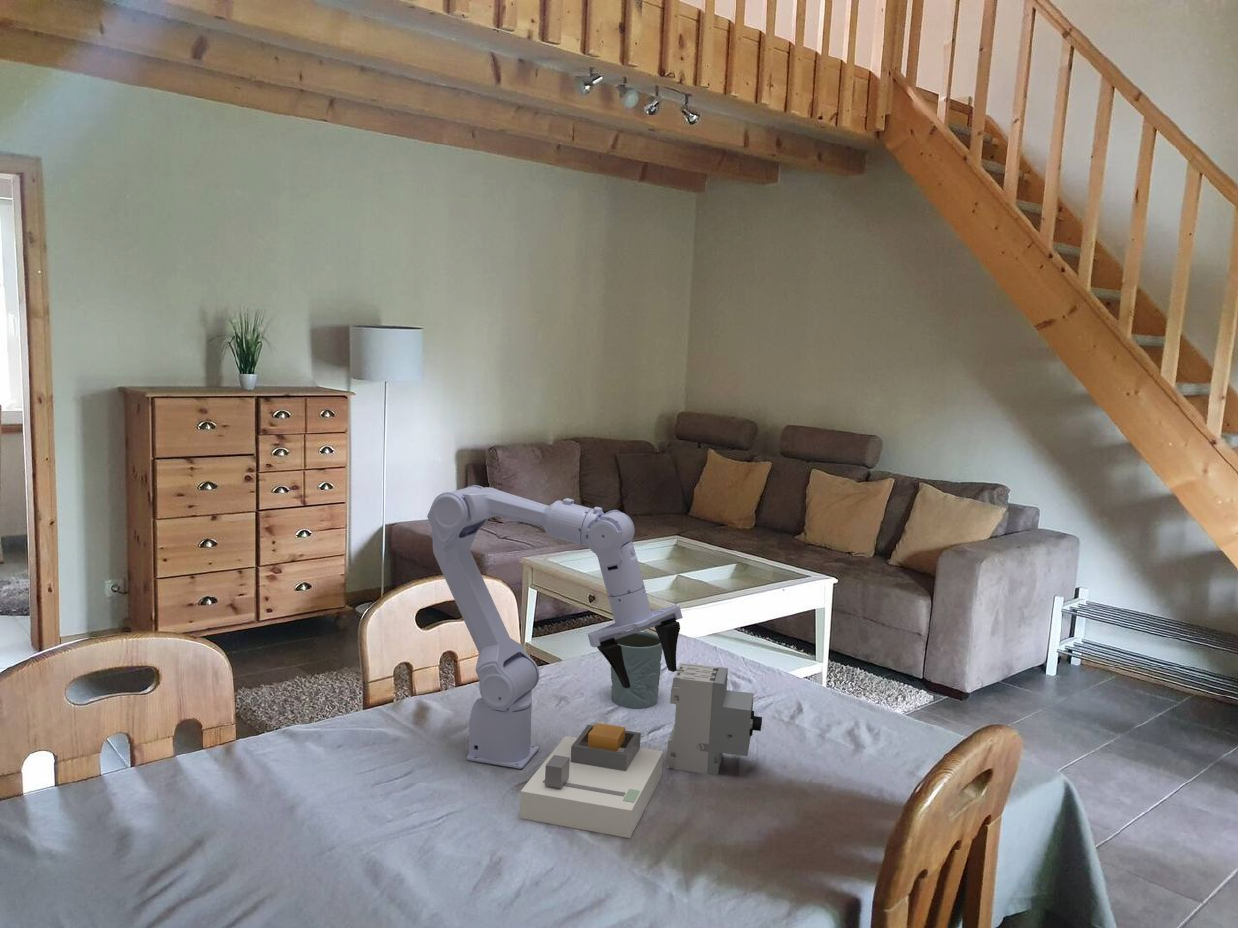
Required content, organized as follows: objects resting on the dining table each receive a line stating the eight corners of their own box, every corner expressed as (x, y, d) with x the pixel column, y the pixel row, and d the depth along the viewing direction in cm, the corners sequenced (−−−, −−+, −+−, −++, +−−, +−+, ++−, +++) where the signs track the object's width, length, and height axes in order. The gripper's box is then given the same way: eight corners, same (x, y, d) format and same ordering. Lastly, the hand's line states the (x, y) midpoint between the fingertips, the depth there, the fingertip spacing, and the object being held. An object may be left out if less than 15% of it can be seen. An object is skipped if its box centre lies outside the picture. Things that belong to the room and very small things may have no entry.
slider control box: (519, 817, 134) (521, 773, 133) (564, 759, 153) (566, 720, 152) (630, 838, 130) (632, 792, 129) (661, 775, 149) (664, 735, 148)
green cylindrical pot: (660, 711, 175) (664, 648, 173) (605, 708, 175) (608, 645, 173) (659, 691, 185) (662, 631, 183) (607, 688, 185) (609, 628, 183)
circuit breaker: (756, 780, 149) (763, 688, 147) (666, 768, 152) (671, 677, 150) (759, 760, 156) (765, 672, 154) (673, 748, 159) (678, 662, 157)
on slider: (544, 785, 135) (545, 765, 134) (553, 774, 138) (554, 754, 138) (560, 788, 134) (561, 767, 134) (568, 777, 138) (569, 757, 137)
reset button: (587, 746, 144) (588, 734, 144) (596, 735, 149) (596, 722, 149) (617, 751, 143) (617, 738, 143) (624, 739, 148) (625, 727, 147)
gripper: (588, 607, 137) (613, 698, 137) (679, 578, 142) (702, 666, 142) (575, 604, 144) (599, 690, 144) (662, 576, 148) (685, 660, 149)
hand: (649, 678), depth 143 cm, fingers open, 7 cm apart
